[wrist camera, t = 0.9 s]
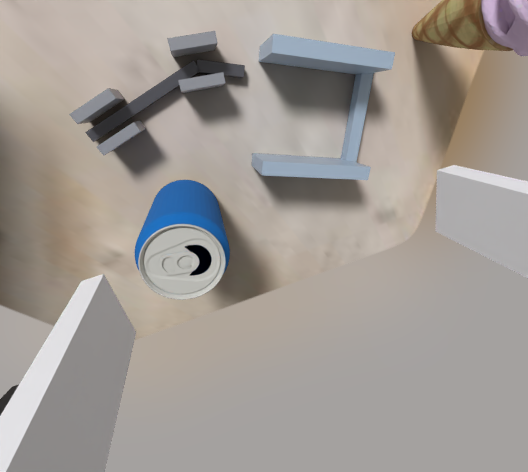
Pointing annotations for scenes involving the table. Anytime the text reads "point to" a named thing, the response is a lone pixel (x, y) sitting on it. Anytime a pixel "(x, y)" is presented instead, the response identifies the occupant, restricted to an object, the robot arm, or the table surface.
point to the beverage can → (183, 242)
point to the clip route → (156, 91)
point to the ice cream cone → (477, 25)
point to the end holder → (364, 67)
